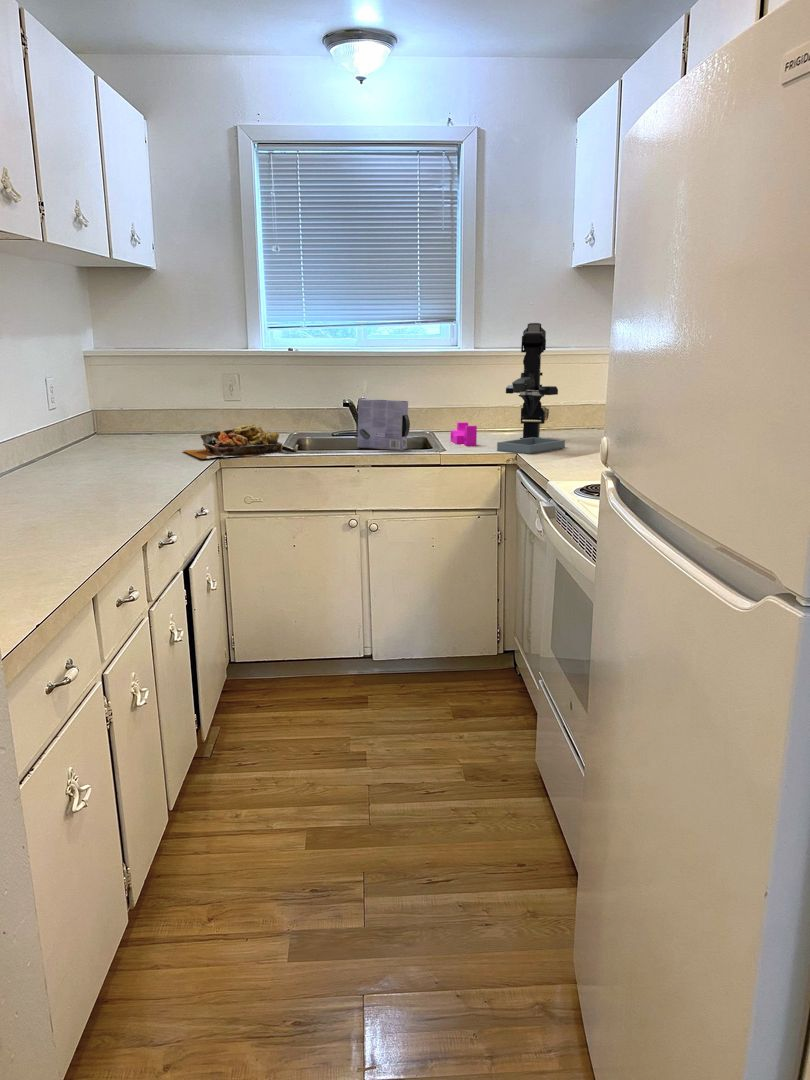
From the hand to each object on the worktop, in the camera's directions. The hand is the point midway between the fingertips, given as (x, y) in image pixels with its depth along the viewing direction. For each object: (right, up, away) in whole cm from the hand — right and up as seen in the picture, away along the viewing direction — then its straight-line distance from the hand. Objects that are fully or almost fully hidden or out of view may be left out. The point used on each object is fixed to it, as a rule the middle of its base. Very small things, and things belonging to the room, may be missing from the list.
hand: (530, 415), depth 281 cm
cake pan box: (-52, -11, +8) cm, 54 cm away
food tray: (-103, -13, +3) cm, 103 cm away
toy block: (-22, -8, +22) cm, 32 cm away
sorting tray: (+1, -12, +3) cm, 12 cm away
